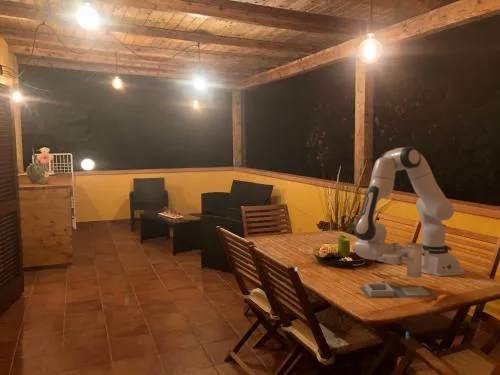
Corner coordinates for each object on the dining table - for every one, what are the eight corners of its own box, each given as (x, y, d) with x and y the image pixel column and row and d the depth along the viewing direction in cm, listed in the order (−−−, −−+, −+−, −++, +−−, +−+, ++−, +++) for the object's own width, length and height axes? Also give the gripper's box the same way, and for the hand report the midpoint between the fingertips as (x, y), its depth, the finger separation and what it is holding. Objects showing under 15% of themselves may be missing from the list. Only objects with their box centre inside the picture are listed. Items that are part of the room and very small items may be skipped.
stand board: (424, 288, 197) (424, 280, 197) (437, 299, 183) (437, 291, 183) (359, 289, 197) (359, 282, 197) (367, 301, 183) (367, 292, 183)
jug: (403, 275, 189) (404, 245, 188) (410, 272, 194) (410, 242, 192) (424, 280, 183) (425, 248, 181) (430, 276, 187) (431, 245, 186)
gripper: (376, 250, 190) (405, 256, 180) (397, 242, 204) (426, 246, 195) (376, 264, 191) (405, 270, 181) (397, 255, 205) (425, 260, 195)
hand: (416, 258), depth 188 cm, fingers closed on jug, 6 cm apart
